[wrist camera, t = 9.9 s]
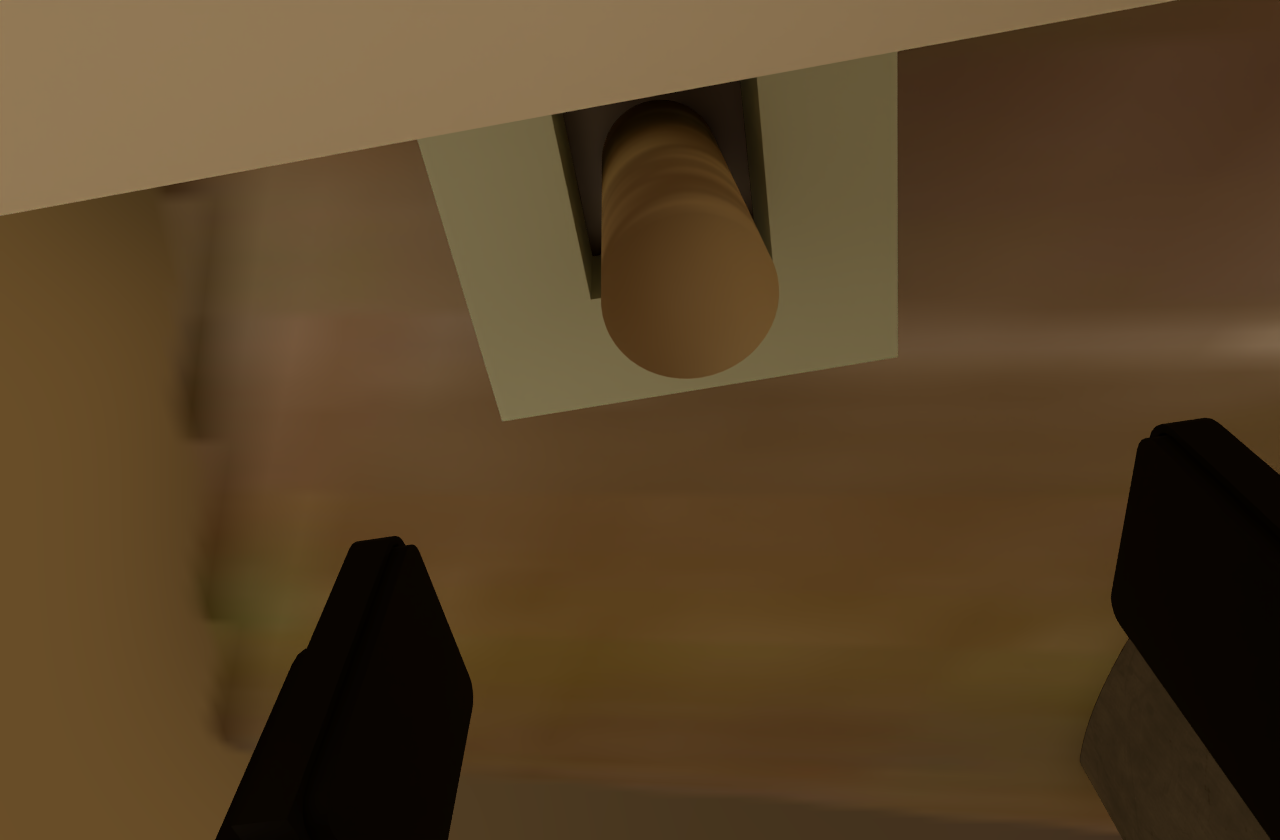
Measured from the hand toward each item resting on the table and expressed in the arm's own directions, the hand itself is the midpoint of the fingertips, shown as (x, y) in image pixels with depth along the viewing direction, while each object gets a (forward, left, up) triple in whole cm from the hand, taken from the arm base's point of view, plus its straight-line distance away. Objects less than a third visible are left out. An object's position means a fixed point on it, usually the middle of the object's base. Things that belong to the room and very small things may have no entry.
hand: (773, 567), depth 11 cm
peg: (0, 0, -21) cm, 21 cm away
